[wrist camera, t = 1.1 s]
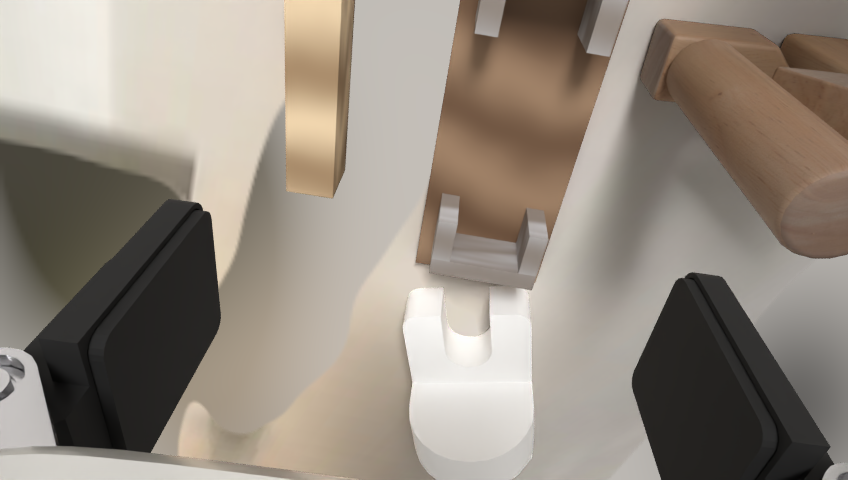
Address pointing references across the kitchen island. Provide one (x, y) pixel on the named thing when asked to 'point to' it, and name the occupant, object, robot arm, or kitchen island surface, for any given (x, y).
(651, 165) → the kitchen island surface
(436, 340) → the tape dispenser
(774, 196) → the wooden block
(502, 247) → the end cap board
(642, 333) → the kitchen island surface
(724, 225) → the kitchen island surface
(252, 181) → the kitchen island surface
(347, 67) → the oak slat
